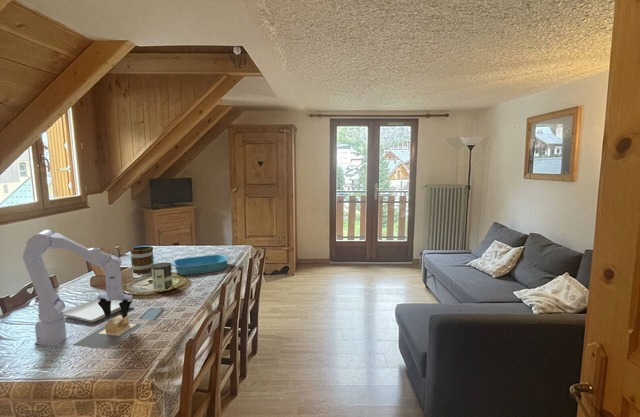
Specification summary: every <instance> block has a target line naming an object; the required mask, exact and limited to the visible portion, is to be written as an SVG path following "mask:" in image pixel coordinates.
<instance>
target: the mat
mask: <svg viewBox="0 0 640 417" xmlns="http://www.w3.org/2000/svg"><path fill="white" fill-rule="evenodd" d="M142 325H143V324H141V323H130V322H129V325H128V326H126V327H125V328H123V329H122V330H120V331H119V332H118V333H116V334H113V333H106V329H105V325H104V326H102V327H101V328H99V329H97V330H95V331H94V332H92V333H90V334H89V335H87V336H85V337H84V338H82V339H80V340H79V341H77V342H75V343H74V344H72V346H75V347H76V346H77V347H86V348H95V349H103V350H104V349H105V350H106V349H108V348H109V347H111V346H112V345H114V344H116V343H118V342H119V341H120V340H122V339H123V338H125V337H126V336H127V335H130V333H132V332H134V331H135V330H136V329H138V328H140V326H142Z"/></svg>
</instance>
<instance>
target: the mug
mask: <svg viewBox="0 0 640 417" xmlns="http://www.w3.org/2000/svg"><path fill="white" fill-rule="evenodd" d="M129 250H130V262H131V270H132V269H133V272H132V273H133V274H146V273H149V272H151V273H152V268H151V266H152V265H154V264H155V263H154V260H155V258H154V251H153V250H154V247H153V246H151V245H140V246H139V245H138V246H134V247H132V248H130V249H129Z"/></svg>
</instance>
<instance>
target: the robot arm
mask: <svg viewBox="0 0 640 417" xmlns="http://www.w3.org/2000/svg"><path fill="white" fill-rule="evenodd" d="M25 244H26V246H25V248H24V251H23V254H22V259H23V263H24V265H25V268H26V270H27V272H28V275H29V277H30V279H31V283H32V285H33V288H34V290H35V292H36V295H37V298H38V306H37V308H38V317H37V318H38V321H37V322H36V323H35V327H34V332H35V340H36V341H35V342H34V344H35V345H46V346H56V345H58V344H60V343H62V342H64V341H66V340H68V339H70V338H71V337H72V336H73V335H72V334H67V328H66V327H67V326H66V321H65V320H66V319H65V316H64V314H63V313H62V312H64V311H65V309H66V304H65V302H64V301H63V300H62V299H61V297H60V296H59V294H57V293H56V291H55V289H54V286H53V284H52V281H51V278H50V276H49V273H48V271H47V268H46V266H45V263H44V259H43V257H42V256H43V255H44V254H45V252H46V251H47V250H48V248H50V250H53V249H61V248H62V249H65V250H67V251H69V252H72V253H75V254H77V255H79V256H82V257H83V259H84V261H85V262H88V263H90V264H92V265H94V266H96V267H99V268H102V269H103V271H104V272H105V273H104V274H105V276H104V278H105V279H104V280H105V290H106V291H105V292H106V293H100V294H98V295H97V296H96V297H97V298H98V300H100V302H98V305H99V306H100V307H101V308H102V310H103V311H104V314H105V316H106V317H105V318H108V317H110V316H111V300H119V301H122V302H121V303H119V306H120V308H121V310H120V311H121V315H122V318H125V317H127V316H128V315H129V314H128V313H129V309H130V306H131V304H132V303H133V300H134V299H133V298H134V297H133V295H129V294H126V293H124V292H123V279H122V278H123V277H122V276H123V275H122V273H121V272H122V270H121V265H122V259H121V257H118V255H113V254H111V253H106V252H104V251H103V250H101V248H99V247H97V248H95V247H90V248H88V247H85V246H84V245H83V244H81V243H78V242H77V241H74V240H72V239H70V238H68V237H66V236H65V235H63V234H61V233H59V232H55V231H53V230H51V229H44V230H42V231H39V232H38V233H36V234H34V235H32V236H31V237H30V238H29V239H28V240H27V241H26V242H25ZM97 298H96V299H97ZM131 302H132V303H131Z"/></svg>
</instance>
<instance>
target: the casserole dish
mask: <svg viewBox="0 0 640 417" xmlns="http://www.w3.org/2000/svg"><path fill="white" fill-rule="evenodd" d="M228 260H230V257H229V255H224V254H209V255H200V256H189V257H184V258H183V257H182V258H177V259H175V260H173V261H172V262H170V263H171V267H174V268H175V270H176V272H177V273H178V274H179V275H181V274H182V275H181V276H191V275H199V274H200V275H201V274H207V273H212V272H219V271H220V272H221V271H223V270H224V269H225V268H226V266H227V263H228Z"/></svg>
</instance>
